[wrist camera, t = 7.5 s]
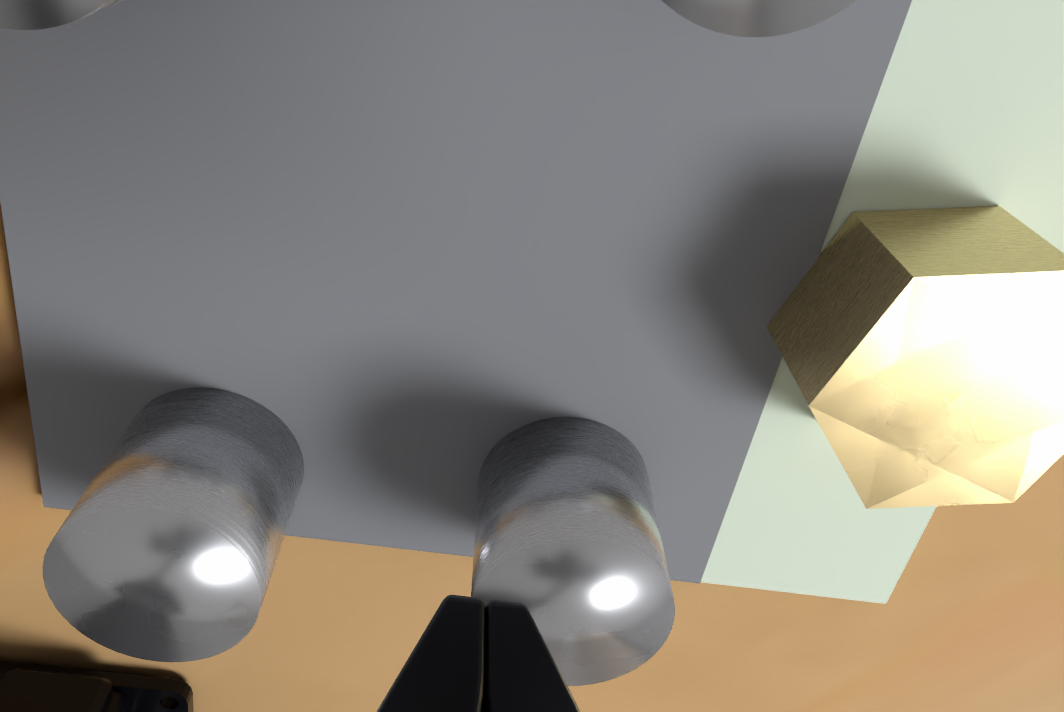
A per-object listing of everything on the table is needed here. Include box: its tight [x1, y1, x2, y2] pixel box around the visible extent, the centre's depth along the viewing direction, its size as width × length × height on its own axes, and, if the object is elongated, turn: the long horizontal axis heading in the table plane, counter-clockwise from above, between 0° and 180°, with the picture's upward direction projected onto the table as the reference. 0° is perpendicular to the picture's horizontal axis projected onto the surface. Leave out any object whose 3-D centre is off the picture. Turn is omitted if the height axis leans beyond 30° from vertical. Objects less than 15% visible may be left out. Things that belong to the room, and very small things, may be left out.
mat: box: [0, 0, 1064, 604], centre depth 17 cm, size 18×21×1 cm
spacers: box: [0, 0, 856, 686], centre depth 15 cm, size 18×14×4 cm
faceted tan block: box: [767, 206, 1064, 509], centre depth 17 cm, size 5×6×3 cm
